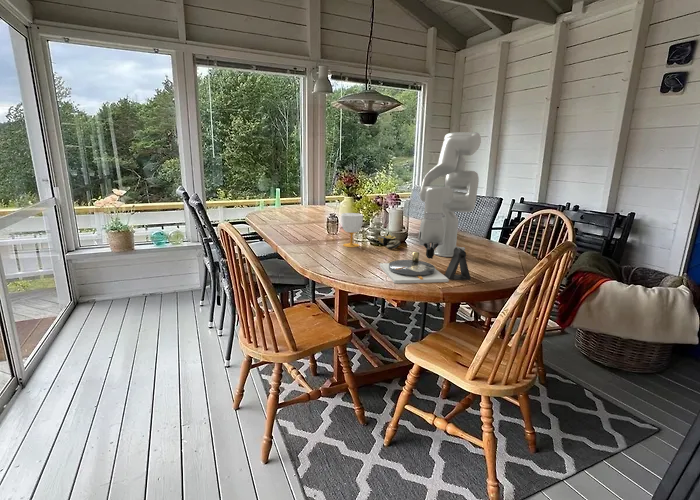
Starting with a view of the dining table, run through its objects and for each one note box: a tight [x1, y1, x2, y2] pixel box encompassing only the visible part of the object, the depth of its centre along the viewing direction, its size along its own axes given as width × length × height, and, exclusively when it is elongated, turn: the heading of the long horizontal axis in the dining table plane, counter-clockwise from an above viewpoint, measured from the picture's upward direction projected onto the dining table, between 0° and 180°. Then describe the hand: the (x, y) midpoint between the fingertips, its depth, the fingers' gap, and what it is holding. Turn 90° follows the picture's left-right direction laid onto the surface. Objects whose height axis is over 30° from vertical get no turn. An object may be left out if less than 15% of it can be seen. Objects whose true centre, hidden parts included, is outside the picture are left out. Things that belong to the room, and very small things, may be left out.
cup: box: [340, 212, 364, 248], centre depth 206 cm, size 12×12×17 cm
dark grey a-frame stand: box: [443, 248, 471, 281], centre depth 154 cm, size 9×6×12 cm, turn 94°
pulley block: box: [378, 234, 402, 250], centre depth 213 cm, size 14×6×30 cm
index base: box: [379, 262, 450, 284], centre depth 160 cm, size 22×24×2 cm
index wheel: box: [389, 251, 436, 276], centre depth 160 cm, size 19×19×6 cm
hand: (429, 257), depth 168 cm, fingers closed
